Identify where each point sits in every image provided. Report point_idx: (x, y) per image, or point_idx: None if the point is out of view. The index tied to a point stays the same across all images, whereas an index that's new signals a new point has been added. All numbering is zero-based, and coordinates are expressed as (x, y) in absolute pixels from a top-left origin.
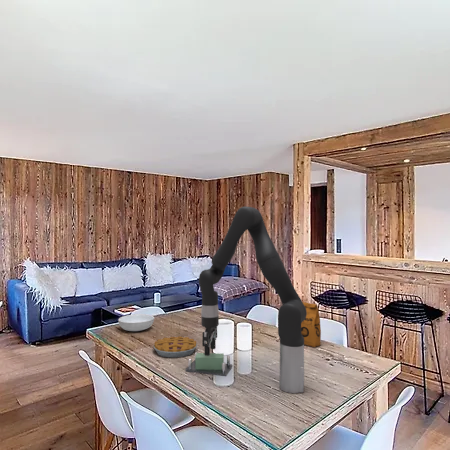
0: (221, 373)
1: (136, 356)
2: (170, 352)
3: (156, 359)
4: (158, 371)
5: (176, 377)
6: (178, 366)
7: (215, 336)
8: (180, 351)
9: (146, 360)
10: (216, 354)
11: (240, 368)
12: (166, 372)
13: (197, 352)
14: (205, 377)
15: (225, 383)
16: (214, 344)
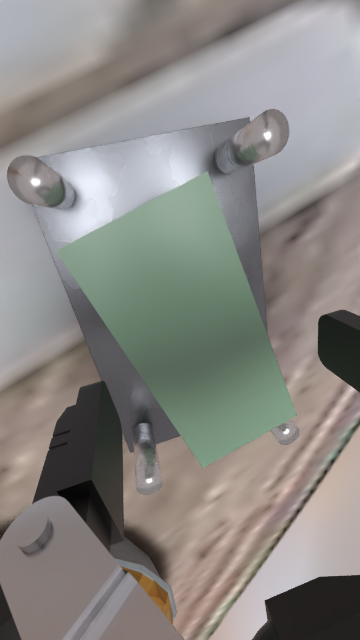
0: (249, 166)
1: (208, 614)
2: (163, 581)
3: (198, 563)
4: (307, 475)
5: (343, 384)
6: (226, 458)
7: (165, 617)
8: (123, 567)
9: (226, 573)
10: (141, 312)
11: (8, 49)
12: (307, 448)
13: (138, 484)
14: (305, 258)
15: (356, 67)
16: (101, 431)
